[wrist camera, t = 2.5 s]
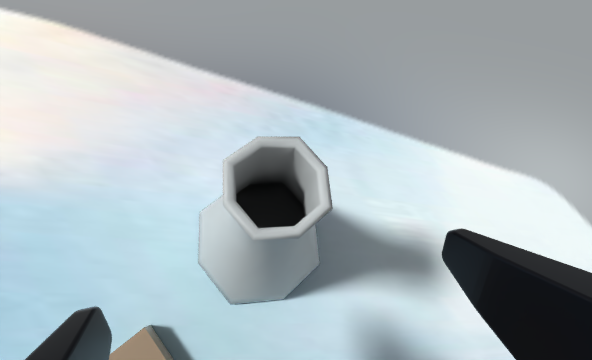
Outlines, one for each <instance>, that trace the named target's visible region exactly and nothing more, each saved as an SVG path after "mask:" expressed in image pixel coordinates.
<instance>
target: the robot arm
mask: <svg viewBox="0 0 592 360" xmlns="http://www.w3.org/2000/svg"><path fill="white" fill-rule="evenodd" d="M442 258H443V261H444V263H445V264H446V266H447V267H448V269H449V270H450V272H451V273H452V275H453V276H454V278H455V279H456V281H457V282H458V284H459V285H460V287H461V288H462V290H463V291H464V293H465V294H466V296H467V297H468V299H469V300H470V302H471V303H472V304H473V306H474V307H475V309H476V310H477V311H478V313H479V314H480V315H481V317H482V318H483V319H484V320H485V322H486V323H487V324H488V325H489V327H490V328H491V329H492V330H493V332H494V333H495V334H496V335H497V337H498V338H499V339H500V340H501V342H502V343H503V344H504V345H505V347H506V348H507V349H508V350H509V352H510V353H511V354H512V355H513V357H514V358H515V359H516V360H592V273H590V272H587V271H585V270H582V269H579V268H576V267H573V266H570V265H567V264H564V263H561V262H558V261H556V260H553V259H550V258H547V257H544V256H541V255H538V254H535V253H532V252H530V251H527V250H524V249H521V248H518V247H515V246H512V245H509V244H506V243H503V242H501V241H498V240H495V239H492V238H489V237H486V236H483V235H480V234H477V233H474V232H472V231H469V230H466V229H456V230H451V231H449V232H448V233H447V235H446V238H445V242H444V246H443V250H442ZM111 342H112V334H111V330H110V328H109V326H108V323H107V321H106V319H105V317H104V315H103V312H102V310H101V309H100V308H99V307H90V308H86V309H81V310H78V311H76V312H74V313H73V314H72V315H71V316H70V317H69V318H68V319H67V320H66V321H65V322H64V323H63V324H62V325H60V326H59V327H58V328H57V329H56V330H55V331H54V332H53V333H52V334H51V335H50V336H49V337H48V338H47V339H46V340H45V341H44V342H43V343H42V344H41V345H40V346H39V347H38V348H36V349H35V350H34V351H33V352H32V353H31V354H30V355H29V356H28V357H27V358H26V359H25V360H109V356H110V349H111Z"/></svg>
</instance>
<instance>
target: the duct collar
mask: <svg viewBox="0 0 592 360" xmlns="http://www.w3.org/2000/svg"><path fill="white" fill-rule="evenodd" d="M109 360H174V359H173V358H172V356H171V355H170V353H169V352H168V350H167V349H166V347H165V346H164V344H163V343H162V341H161V340H160V338H159V337H158V335H157V334H156V332H155V331H154V329H153V328H152V326H151V325H149V326H147V327H144V328H143V329H142V330H140V331H139V332H138V333H137V334H135V335H134V336H133V337H132V338H130V339H129V340H128V341H127V342H125V343H124V344H123V345H121V346H120V347H119V348H118V349H116V350H115V351H114V352H113V353H111V354H110V356H109Z"/></svg>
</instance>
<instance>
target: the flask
mask: <svg viewBox="0 0 592 360" xmlns="http://www.w3.org/2000/svg"><path fill="white" fill-rule="evenodd" d="M331 210H332V200H331V192H330V184H329V177H328V169H327V166H326V165H325V164H324V163H323V162H322V161H321V160H320V159H319V158H318V156H317V155H316V154H315V153H314V152H313V151H312V150H311V149H310V148H309V147H308V146H307V145H306V143H305V142H304V141H303V140H302V139H301V138H300V137H256V138H255V139H253V140H252V141H251V142H249V143H248V144H246V145H245V146H243V147H242V148H240V149H239V150H237V151H236V152H234V153H233V154H231V155H230V156H229V157H227V158H226V159H224V160H223V195H222V196H221V197H219V198H218V199H217V200H215V201H214V202H213V203H211V204H210V205H208V206H207V207H206V208H204V209H203V210H202V211H200V212H199V244H198V263H199V265H200V266H201V267H202V269H203V270H204V271H205V273H206V274H207V275H208V276H209V278H210V279H211V280H212V282H213V283H214V284H215V285H216V287H217V288H218V289H219V291H220V292H221V293H222V294H223V296H224V297H225V298H226V300H227V301H228V302H229V303H230V305H231V304H241V303H251V302H261V301H272V300H282V299H284V298H285V297H286V296H287V295H288V294H289V293H290V292H291V291H292V290H293V289H294V288H296V287H297V286H298V285H299V284H300V283H301V282H302V281H303V280H304V279H305V278H306V277H307V276H308V275H309V274H310V273H311V272H312V271H313V270H314V269H315V268H316V267H317V266H318V265H319V264H320V262H319V252H318V243H317V234H316V223H317V222H318V221H319V220H321V219H322V218H323V217H324V216H325V215H326V214H327V213H328V212H330V211H331Z"/></svg>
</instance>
